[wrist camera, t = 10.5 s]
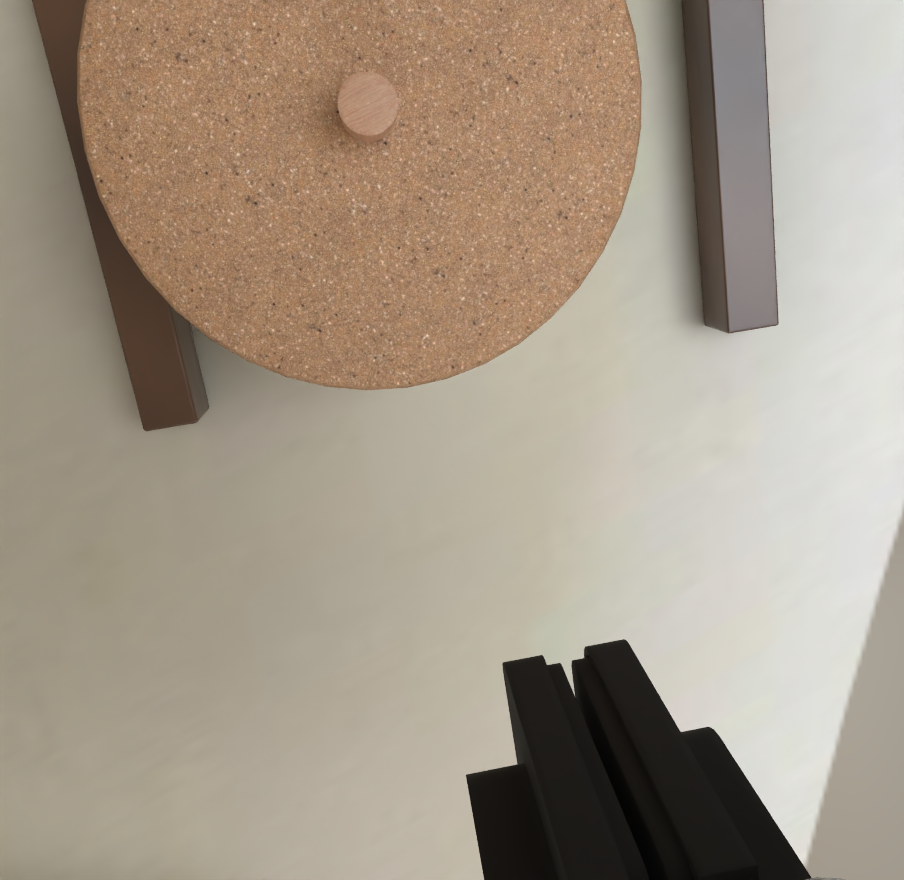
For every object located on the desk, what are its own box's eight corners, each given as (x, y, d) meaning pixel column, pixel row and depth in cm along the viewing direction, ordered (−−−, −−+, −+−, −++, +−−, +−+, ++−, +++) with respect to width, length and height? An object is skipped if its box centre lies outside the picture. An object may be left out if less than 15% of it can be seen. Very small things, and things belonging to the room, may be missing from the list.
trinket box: (92, 39, 22) (-99, -78, 13) (461, -147, 22) (526, -399, 13) (288, 398, 25) (242, 504, 16) (616, 239, 25) (756, 255, 16)
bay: (7, -179, 21) (-26, -215, 19) (719, -274, 22) (749, -316, 20) (159, 417, 25) (143, 432, 23) (751, 317, 26) (779, 325, 24)
